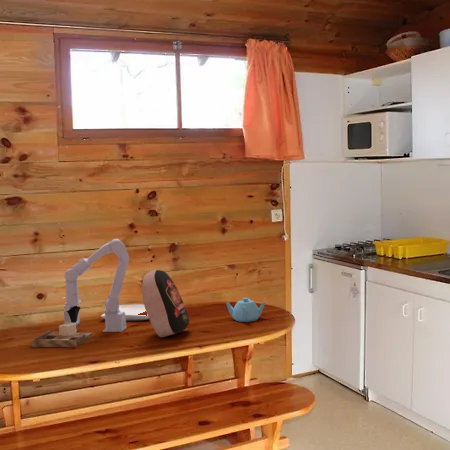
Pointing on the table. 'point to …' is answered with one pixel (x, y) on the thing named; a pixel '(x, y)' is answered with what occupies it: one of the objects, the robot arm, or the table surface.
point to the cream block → (67, 329)
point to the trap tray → (60, 340)
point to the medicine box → (67, 318)
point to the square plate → (132, 312)
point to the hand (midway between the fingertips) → (74, 322)
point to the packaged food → (163, 304)
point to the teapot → (245, 310)
